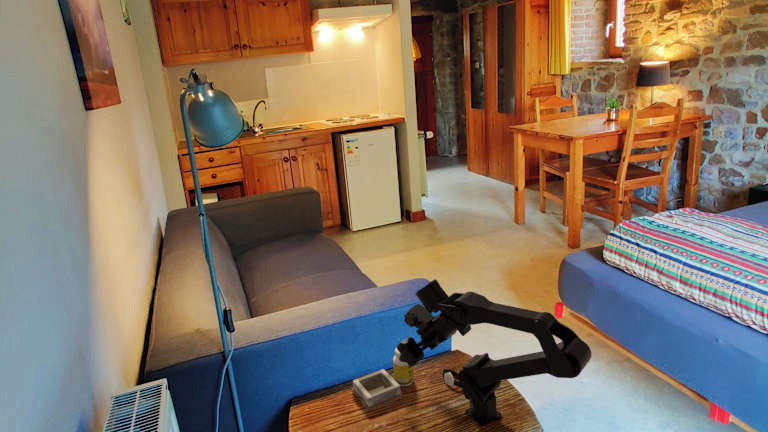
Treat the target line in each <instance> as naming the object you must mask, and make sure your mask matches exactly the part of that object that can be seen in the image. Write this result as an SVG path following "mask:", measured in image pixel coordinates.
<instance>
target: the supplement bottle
mask: <svg viewBox="0 0 768 432" xmlns="http://www.w3.org/2000/svg"><path fill="white" fill-rule="evenodd" d="M400 355H401V354H400V352H399V351H398V350H397V347H395V349H394V356H393V358H392V365H393V377H394V378H393V379H394V380H395V381H396V382H397V383H398V384H399V385H400V387H408V386H410V385H413V383H414V381H415V377H414V376H415V375H414V372H415V371H414V366H412V367H411V366H409V365H408V364H407V363H406V362H401V361H400V360H399V357H400Z"/></svg>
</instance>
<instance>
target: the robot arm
mask: <svg viewBox="0 0 768 432" xmlns="http://www.w3.org/2000/svg"><path fill="white" fill-rule="evenodd" d="M414 295H415V296H416V298H417V299H418V300H419V301H420V303H417V304H416V305H414V306H412V307H410V308H409V309H408V311H407V312H406V313H405V314H404V315H403V316H404V323H405V324H406V325H407V326H409V327H410V328H414V327H415V328H416V329H417V330H416V331H415V332H416V334H417V335H418V336H420V340H421V341H419V342H417V341H416V340H415V338H413V337H411V336H408V337H406V338H404V339H403V340H402V341H400V342H399V343H398V344H396V348H397V350H398V351H399V352H400V354H401V355H400V357H399V360H400V361H401V362H406V363H407V364H408V365H409V366H411V367H412V366H413V367H414V366H415V365H416V364H417V363H419V362H420V361H422V360H424V358H425V353H424V351H426V350H427V349H428V348H429V349H430V350H431V351H433V350H434V349H436V348H437V347H438V346H439V345H441V344H442V343H444V342H445V341H447V340H449V339H450V338H451V337H453V335H455V334H456V333H457V331H458V332H459V334H460V335H461V336H463V337H464V336H466V335H467V334H468V333H469V332H470V331H472V326H473V325H481V324H489V325H493V326H498V327H502V328H507V329H511V330H514V331H519V332H523V333H527V334H531V335H533V336H534V337H535V338H536V339H537V341H538V342H539V345H540V347H541V349H542V351H538V352H531V353H527V354H522V355H515V356H510V357H507V358H506V357H505V358H501V359H493V358H491V357H490V355H489V353H488V352H485V353H483V354H477V353H476V354H474V355H473V357H472V358H471V359H469V360H468V361H467V362H466V363H465V364H464V365H463V366H462V368H461V369H460V370H459V371H458V372H457V373H458V381H459V382H460V385H461V387H460V388H461V390H462V392H463V395H464V398H465V399H466V400H468V401H469V407H468V408H466V409H464V410H465V411H464V412H465V413H466V414H467V415H468V416H469V417H470V418H471V419H472V420H473V421H474V422H475V423H477V424H478V425H479V426H481V427H483V426H485V425H487V424H490V423H491V422H494V421H495V420H497V419H500V418H501V417H503V415H502V413H501V412H500V411H499V410H497V396H496V392H495V391H496V390H498V388H499V387H501V384H502V382H503V381H506V380H513V379H519V378H526V377H532V376H538V375H546V374H547V375H550V376H553V377H555V378H557V379H559V378H560V379H575V378H577V377H578V376H579V375H580V374H581V373H582V371H583V370H584V369H585V367H586V366H587V365H588V363H589V362H590V361H591V358H592V350H591V347H590V346H589V344H588V343H586V342H585V341H584V340H582V339H581V338H580V337H579V335H577V333H576V332H575V331H574V330H573V329H572V328H570V327H568V326H567V325H565V324H563V323H562V322H560V321H559V320H558V319H557V318H556V317H555V316H554V315H553V314H552V313H550V312H548V311H542V312H541V311H536V310H531V309H526V308H521V307H516V306H511V305H507V304H501V303H496V302H494V301H490V300H489V299H488V298H487V297H486V296H484V295H481V294H480V293H476V292H474V291H466V292H465V293H464V292H463V293H462V292H453V293H452V294H450V295H448V294H447V293H446V291H445V290H444V289H443V287H442V286H441V284H440V283H439V282H438V280H437V279H436V278H434V279H432V280H431V281H430V282H429V283H427V284H426V285H425V286H423V287H422V288H420V289H418V290H417V291H416V292H415V294H414ZM439 312H440V313H439ZM432 313H433V314H436V313H439V314H436V315H433V314H432ZM554 336H555V337H556V338H558V339H559V340H560V342H558V343H557V341H556V340H555V337H554Z"/></svg>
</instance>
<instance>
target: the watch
mask: <svg viewBox="0 0 768 432" xmlns="http://www.w3.org/2000/svg"><path fill="white" fill-rule="evenodd" d="M452 375H453V376H452ZM454 376H455V377H454ZM456 377H457V378H458V372H457V371H455V370H453V369H448V368H444V369H442V378H443V379H444V382H445V384H446V385H448V386H455V387H457V388H461V385H460V382H459V380H457V378H456ZM455 378H456V379H455Z"/></svg>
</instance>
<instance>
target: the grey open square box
mask: <svg viewBox="0 0 768 432" xmlns="http://www.w3.org/2000/svg"><path fill="white" fill-rule="evenodd" d="M352 386H353V387H352V388H351V389H352V391H351V392H353V394H354V395H355V396H356V398H357V399H358V400H359V401H360V403H361V404H362V405H363V406H364V408H365V409H366V410H367V412H371V411H374V410H376V409H378V408H381V407H383V406H385V405H386V406H387V405H388V404H390V403H391V404H392V403H393V402H395V401H397V400H401V399H403V396H404V395H403V393H402V391H401V386H400V385H399V384H398V383H397V382H396V381H395V380H394V378H393V377H392V376H391V374H389V373H388V372H387V371H386V370H385V369H384V368H382V369H380V370H377V371H373V372H372V373H369V374H367V375H366V374H365V375H364V376H361V377H357V378H356V379H353V380H352Z"/></svg>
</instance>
